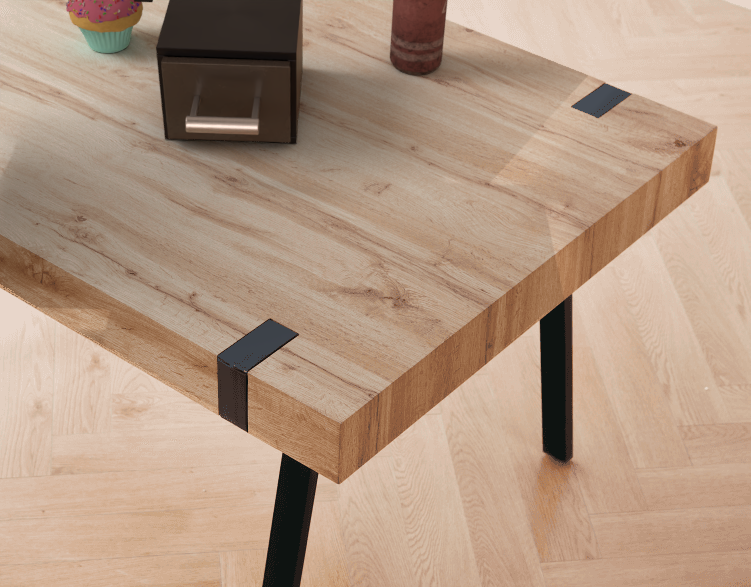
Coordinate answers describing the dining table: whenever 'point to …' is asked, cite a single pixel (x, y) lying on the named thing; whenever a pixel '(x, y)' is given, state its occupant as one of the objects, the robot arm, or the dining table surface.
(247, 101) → the drawer
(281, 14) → the dark brown cabinet
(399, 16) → the can
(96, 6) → the cupcake
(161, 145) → the dining table surface
